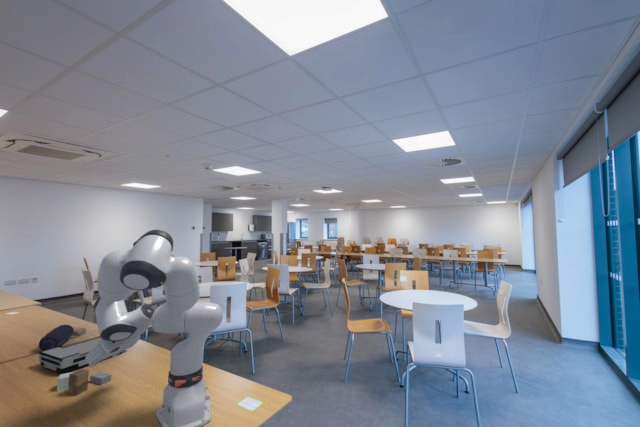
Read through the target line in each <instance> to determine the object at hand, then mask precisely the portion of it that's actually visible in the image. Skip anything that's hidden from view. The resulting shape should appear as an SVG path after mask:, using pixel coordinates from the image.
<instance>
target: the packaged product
mask: <svg viewBox="0 0 640 427" xmlns="http://www.w3.org/2000/svg"><path fill="white" fill-rule="evenodd" d="M73 329H74V332H73V334H72V336H71V337H70V338H69V339H76V338H79V337H82V336H85V335H87V334H89V331H87V328H85V327H73Z"/></svg>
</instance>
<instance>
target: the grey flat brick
mask: <svg viewBox="0 0 640 427" xmlns="http://www.w3.org/2000/svg"><path fill="white" fill-rule="evenodd" d="M89 375H90V374H89ZM111 381H112V374H111V373H107V372H104V371H99V372H95V373H93V374H91V375H90V376H89V383H92V384H94V385H95V384H96V385H99V386H103V385H105V384H107V383H109V382H111Z"/></svg>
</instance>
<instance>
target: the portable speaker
mask: <svg viewBox="0 0 640 427" xmlns="http://www.w3.org/2000/svg"><path fill="white" fill-rule="evenodd" d="M73 328H74V327H73V326H72V325H69V324H62V325H59V326H56V327H55V328H54V329H52V330H51V331H49V332H47V333H46V334H45V335H43V337H42V338H40V340H39V342H38V348H39V350H41V351H43V350H47V349H50V348H54V347H60V348H61V346H62V345H63V344H64V343H65V342H67V341H69V339H71V338H70V337H71V336H72V334H73V332H74V329H73Z"/></svg>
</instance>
